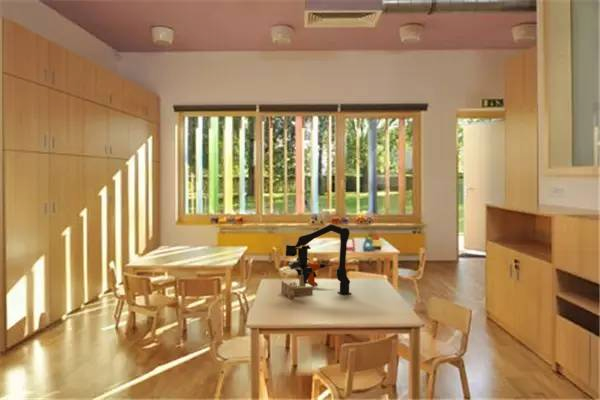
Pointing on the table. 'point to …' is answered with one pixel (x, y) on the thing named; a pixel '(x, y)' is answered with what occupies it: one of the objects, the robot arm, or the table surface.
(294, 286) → the tan rectangular block
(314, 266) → the toy drill
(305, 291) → the tan wooden t-shaped piece
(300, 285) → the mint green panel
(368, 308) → the table surface
